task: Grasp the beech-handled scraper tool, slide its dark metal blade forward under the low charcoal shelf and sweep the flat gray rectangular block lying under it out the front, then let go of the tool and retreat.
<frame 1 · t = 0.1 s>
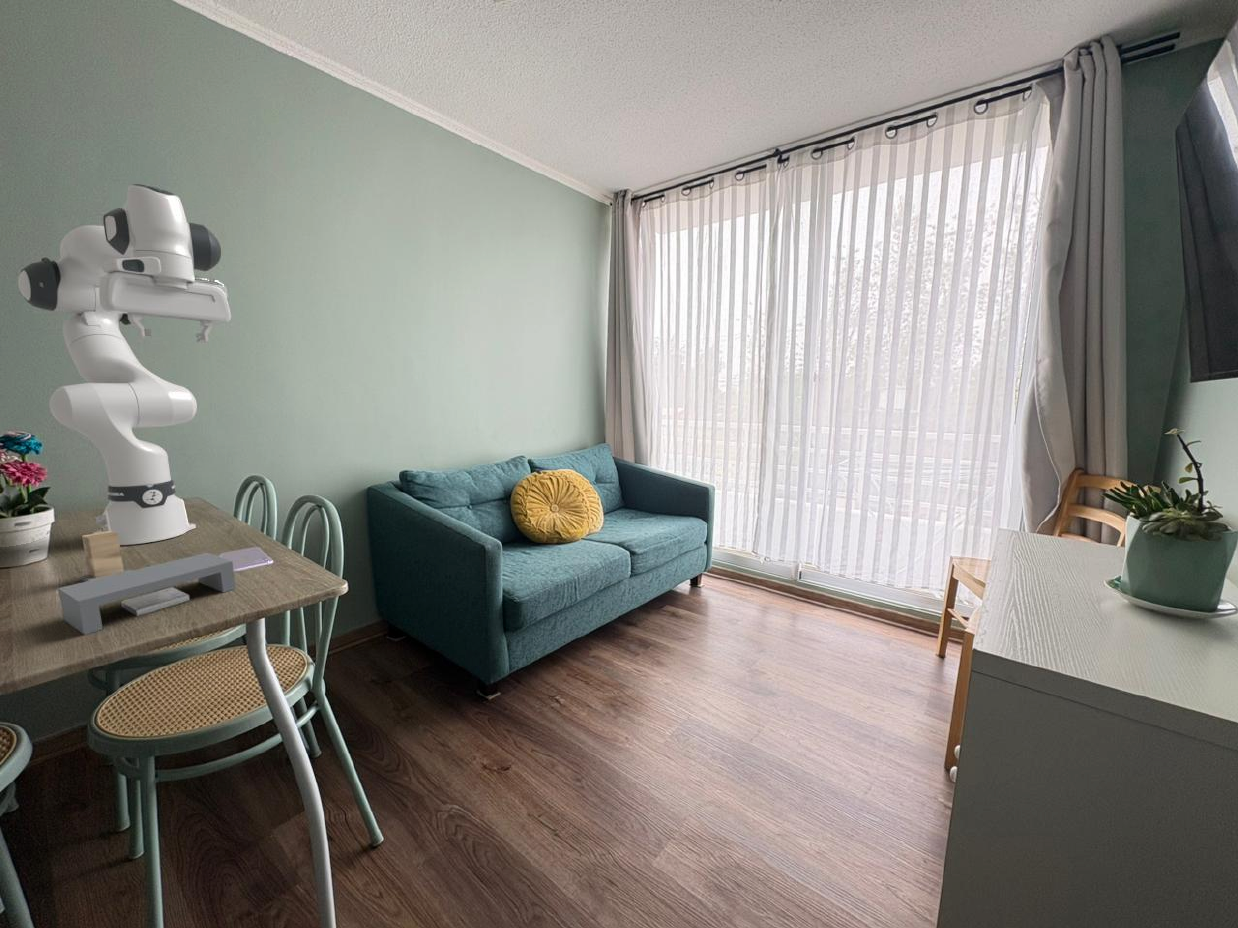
hand: (175, 340, 101), 48 cm above the table, fingers open, 8 cm apart
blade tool: (107, 577, 97), on the table
flat gray rectangular block: (156, 606, 86), on the table
mobile phone: (246, 561, 108), on the table
low shelf: (156, 603, 86), on the table
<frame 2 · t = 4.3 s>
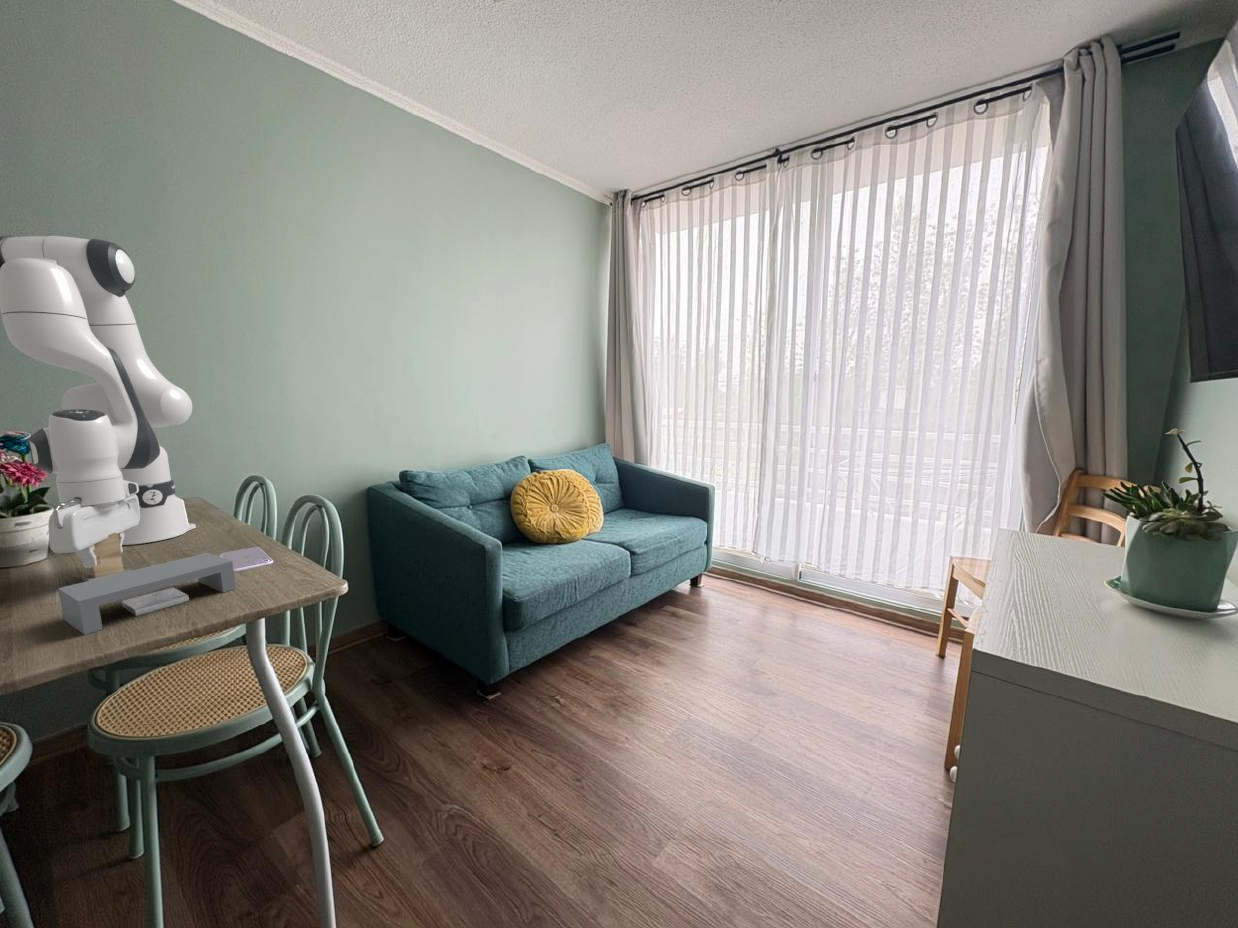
hand: (104, 560, 96), 4 cm above the table, fingers closed on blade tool, 6 cm apart
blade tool: (107, 577, 97), on the table, touching gripper
everything else where it was.
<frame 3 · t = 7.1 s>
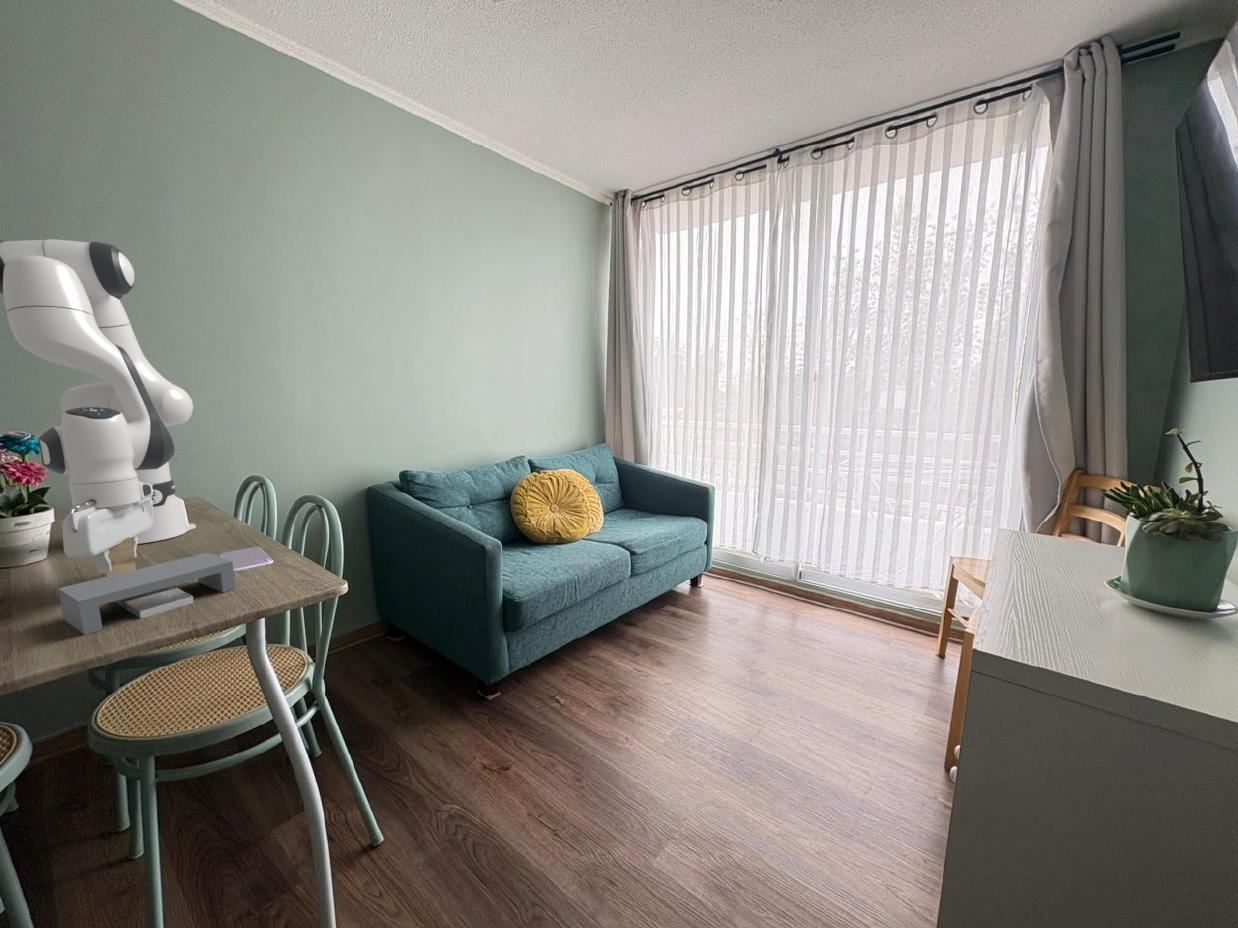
hand: (118, 565, 92), 4 cm above the table, fingers closed on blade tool, 6 cm apart
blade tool: (120, 583, 93), on the table, touching gripper
flat gray rectangular block: (160, 606, 85), on the table
everything else where it was.
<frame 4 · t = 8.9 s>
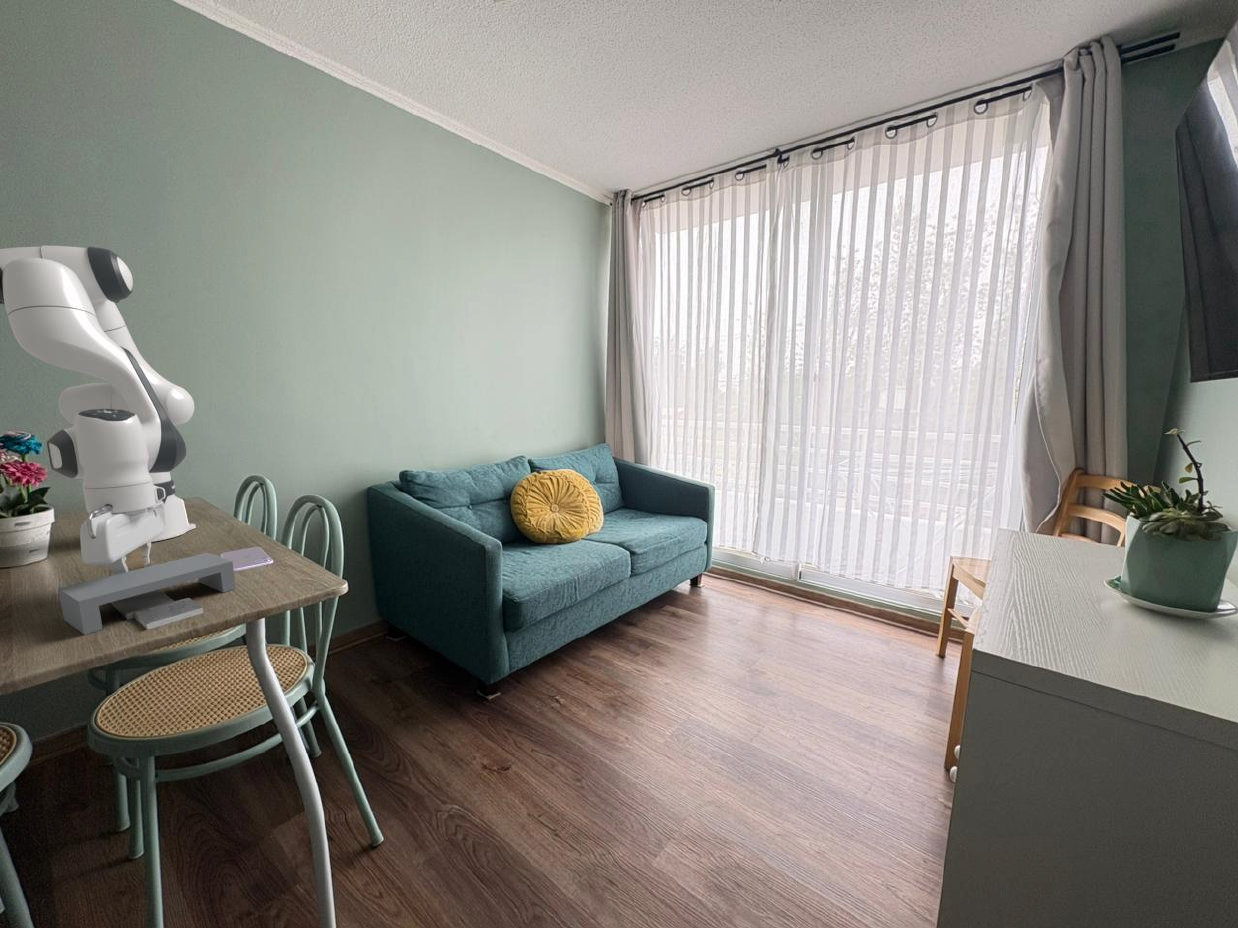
hand: (133, 571, 89), 4 cm above the table, fingers open, 5 cm apart
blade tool: (130, 593, 89), on the table, touching gripper
flat gray rectangular block: (170, 618, 81), on the table
everything else where it was.
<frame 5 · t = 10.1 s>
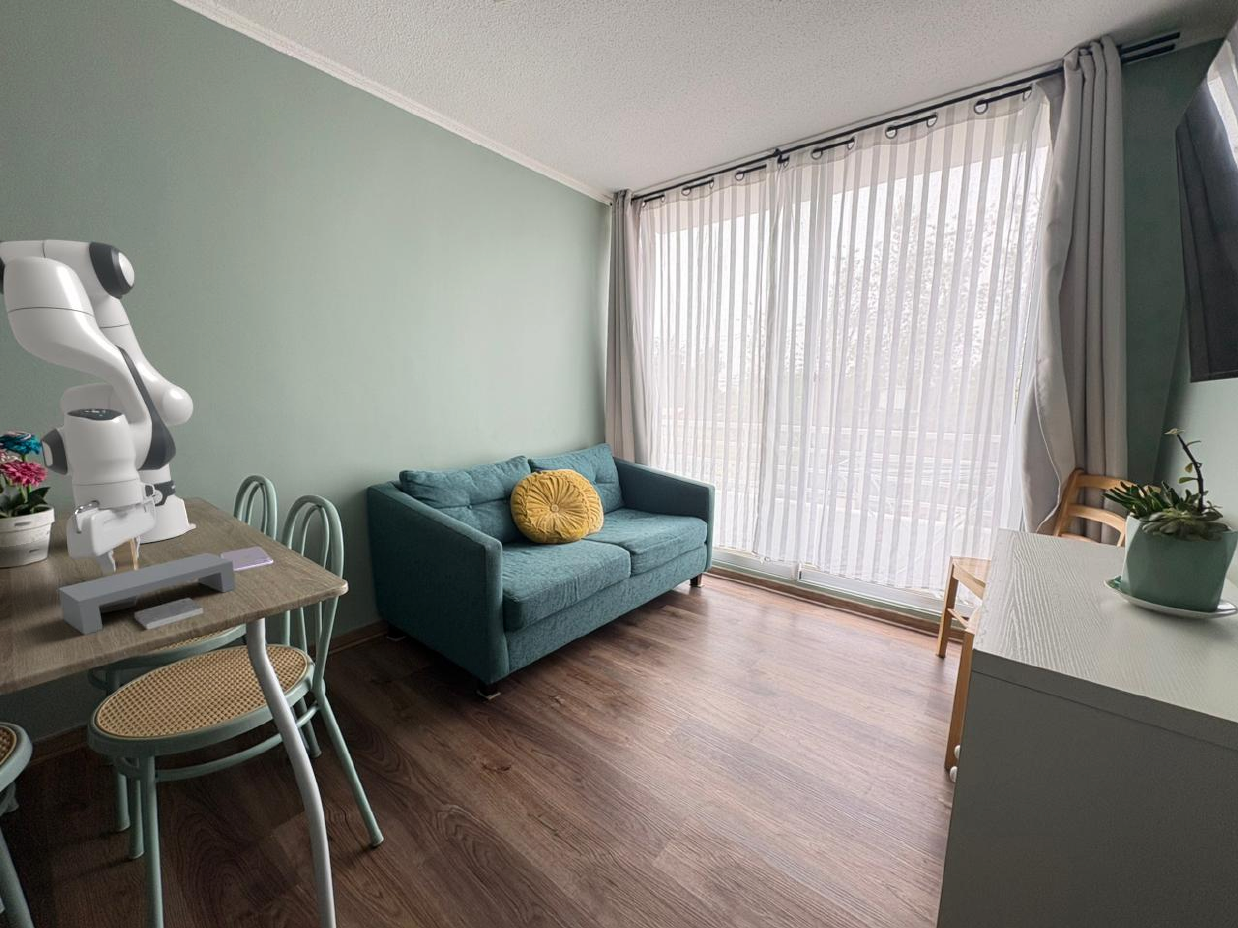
hand: (121, 565, 93), 4 cm above the table, fingers open, 5 cm apart
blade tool: (124, 585, 93), on the table, touching gripper
everything else where it was.
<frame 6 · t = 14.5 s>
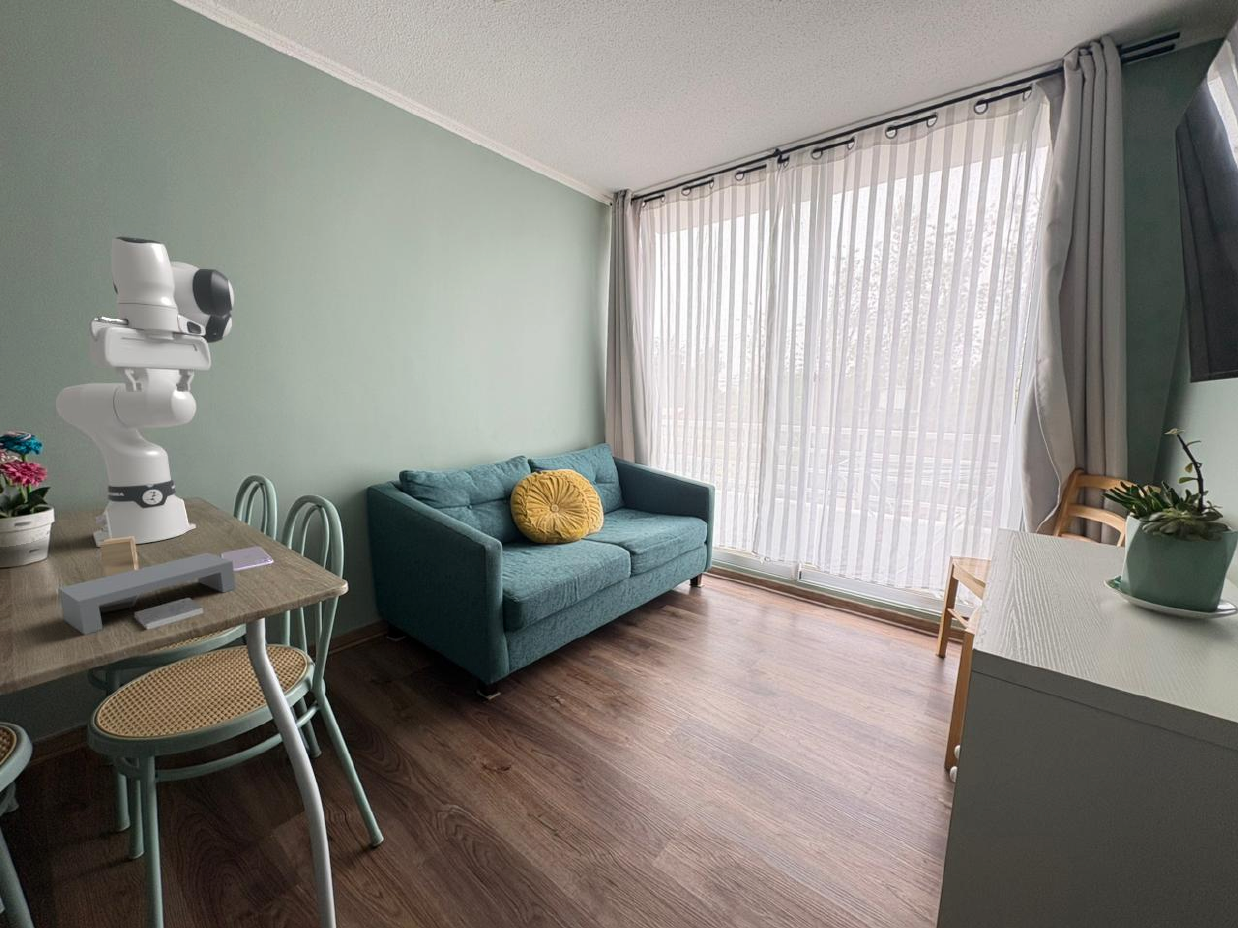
hand: (160, 391, 99), 37 cm above the table, fingers open, 8 cm apart
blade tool: (124, 585, 93), on the table
everything else where it was.
at the end: flat gray rectangular block inside the target area (6.5 cm from its centre), on the table; flat gray rectangular block moved 8.1 cm from its start; the gripper is holding nothing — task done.
